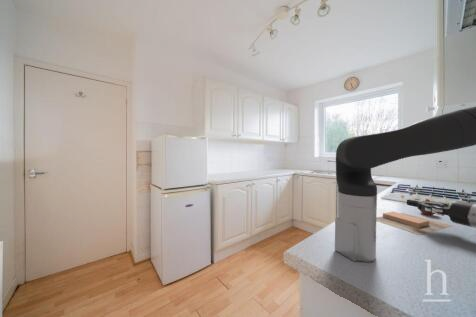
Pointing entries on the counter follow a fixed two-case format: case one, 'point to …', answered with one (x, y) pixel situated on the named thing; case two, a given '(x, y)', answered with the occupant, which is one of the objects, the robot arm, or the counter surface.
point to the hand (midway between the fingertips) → (407, 201)
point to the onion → (425, 212)
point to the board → (421, 230)
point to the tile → (406, 219)
